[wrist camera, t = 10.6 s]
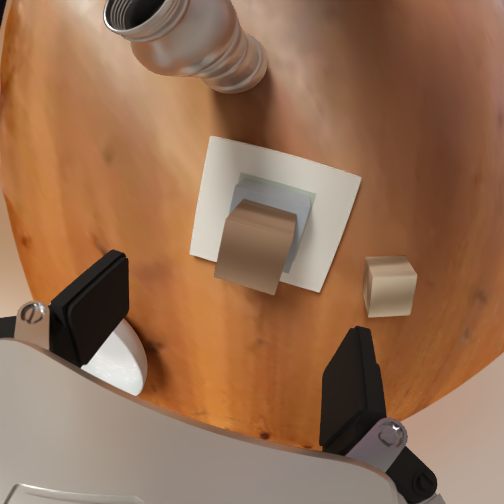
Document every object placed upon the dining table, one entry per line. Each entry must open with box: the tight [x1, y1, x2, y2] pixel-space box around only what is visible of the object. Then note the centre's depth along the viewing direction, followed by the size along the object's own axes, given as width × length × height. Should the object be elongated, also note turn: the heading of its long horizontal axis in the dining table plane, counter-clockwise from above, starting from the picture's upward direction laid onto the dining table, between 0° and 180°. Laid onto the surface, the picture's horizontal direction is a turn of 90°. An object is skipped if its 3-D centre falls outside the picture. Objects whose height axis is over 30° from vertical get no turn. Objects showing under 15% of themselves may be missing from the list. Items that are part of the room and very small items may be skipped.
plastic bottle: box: [103, 0, 268, 94], centre depth 17 cm, size 6×7×20 cm
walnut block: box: [214, 199, 297, 295], centre depth 25 cm, size 5×5×6 cm
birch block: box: [363, 255, 417, 317], centre depth 30 cm, size 5×5×5 cm
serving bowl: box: [49, 303, 148, 396], centre depth 43 cm, size 21×21×7 cm
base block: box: [229, 178, 310, 274], centre depth 29 cm, size 7×7×4 cm
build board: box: [190, 136, 362, 292], centre depth 31 cm, size 14×16×1 cm
